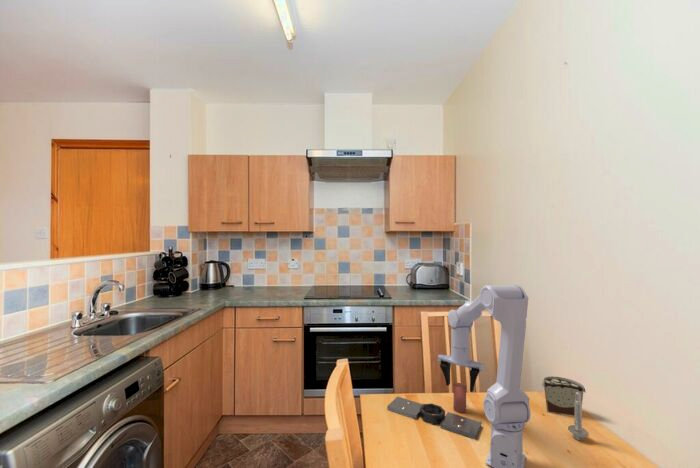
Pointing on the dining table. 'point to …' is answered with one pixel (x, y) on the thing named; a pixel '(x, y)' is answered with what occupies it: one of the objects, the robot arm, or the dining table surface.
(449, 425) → the hinge
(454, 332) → the robot arm
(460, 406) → the hinge pin
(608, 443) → the dining table surface
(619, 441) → the dining table surface
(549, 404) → the food container
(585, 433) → the screw
